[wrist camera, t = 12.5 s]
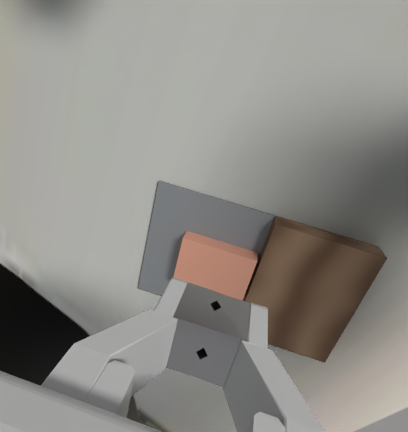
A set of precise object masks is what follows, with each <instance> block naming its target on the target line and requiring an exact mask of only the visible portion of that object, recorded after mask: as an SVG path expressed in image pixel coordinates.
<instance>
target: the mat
mask: <svg viewBox="0 0 408 432" xmlns="http://www.w3.org/2000/svg"><path fill="white" fill-rule="evenodd" d="M274 217H275V215H271V214H268V213H265V212H261V211H258V210H255V209H251V208H248V207H245V206H242V205H238V204H235V203H232V202H228V201H225V200H222V199H218V198H215V197H212V196H209V195H205V194H202V193H199V192H195V191H192V190H189V189H185V188H182V187H179V186H176V185H172V184H169V183H166V182H162V181H158V187H157V192H156V197H155V202H154V207H153V213H152V218H151V223H150V228H149V233H148V238H147V244H146V249H145V254H144V259H143V264H142V269H141V275H140V280H139V285H138V288H139V289H142V290H145V291H148V292H151V293H154V294H157V295H160V296H162V295H163V293H164V291H165V289H166V287H167V285H168V284H169V282H170V280H171V279H172V278H173V276H174V272H175V268H176V264H177V260H178V256H179V252H180V248H181V244H182V240H183V237H184V235H185V233H186V232H187V231H189V232H192V233H196V234H199V235H202V236H205V237H209V238H212V239H215V240H218V241H222V242H225V243H228V244H231V245H234V246H238V247H241V248H244V249H247V250H251V251H254V252H257V253H258V259H259V256H260V254H261V251H262V248H263V246H264V243H265V240H266V238H267V235H268V233H269V230H270V227H271V225H272V222H273V220H274ZM257 261H258V260H257ZM255 267H256V266H255Z"/></svg>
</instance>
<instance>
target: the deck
mask: <svg viewBox="0 0 408 432" xmlns="http://www.w3.org/2000/svg"><path fill="white" fill-rule="evenodd" d="M386 259H387V258H386V256H385V255H384V254H383V252H382V251H381V250H380V248H379V247H377V246H374V245H370V244H367V243H364V242H360V241H357V240H354V239H350V238H347V237H344V236H341V235H337V234H334V233H331V232H327V231H324V230H321V229H317V228H314V227H311V226H308V225H304V224H301V223H298V222H294V221H291V220H288V219H284V218H281V217H278V216H275V217H274V220H273V222H272V225H271V227H270V230H269V233H268V235H267V238H266V240H265V243H264V246H263V248H262V251H261V254H260V256H259V259H258V261H257V264H256V267H255V269H254V272H253V274H252V277H251V280H250V282H249V285H248V287H247V290H246V293H245V295H244V298H243V301H246V302H249V303H254V304H258V305H261V306H265V307H267V309H268V344H271V345H274V346H277V347H280V348H283V349H286V350H289V351H292V352H295V353H298V354H301V355H304V356H307V357H310V358H313V359H316V360H319V361H322V362H325V361H326V360H327V358H328V356H329V354H330V353H331V351H332V349H333V348H334V346H335V344H336V343H337V341H338V339H339V338H340V336H341V334H342V333H343V331H344V329H345V328H346V326H347V324H348V323H349V321H350V319H351V318H352V316H353V314H354V313H355V311H356V309H357V308H358V306H359V304H360V303H361V301H362V299H363V298H364V296H365V294H366V292H367V291H368V289H369V287H370V286H371V284H372V282H373V281H374V279H375V277H376V276H377V274H378V272H379V271H380V269H381V267H382V266H383V264H384V262H385V261H386Z"/></svg>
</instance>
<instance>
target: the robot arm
mask: <svg viewBox="0 0 408 432" xmlns="http://www.w3.org/2000/svg"><path fill="white" fill-rule="evenodd" d="M166 367H167V368H170V369H173V370H176V371H180V372H183V373H186V374H189V375H192V376H195V377H198V378H200V379H203V380H206V381H208V382H211V383H213V384H216V385H219V386H221V387H224V388H223V390H224V393H225V396H226V399H227V402H228V405H229V408H230V410H231V413H232V416H233V419H234V422H235V425H236V428H237V431H238V432H325V430H324V428H323V427H322V425H321V424H320V422H319V421H318V419H317V418H316V416H315V415H314V413H313V412H312V410H311V409H310V407H309V405H308V404H307V402H306V401H305V399H304V398H303V396H302V395H301V393H300V392H299V390H298V389H297V387H296V386H295V384H294V383H293V381H292V379H291V378H290V376H289V375H288V373H287V372H286V370H285V369H284V367H283V366H282V364H281V363H280V361H279V360H278V358H277V356H276V355H275V353H274V352H273V351H272V350H270V349H268V309H267V307H265V306H261V305H258V304H254V303H249V302H246V301H243V300H240V299H236V298H233V297H230V296H227V295H224V294H221V293H218V292H215V291H213V290H210V289H207V288H204V287H201V286H198V285H195V284H192V283H188V282H186V281H183V280H180V279H177V278H174V277H173V278H172V279H171V280H170V282H169V284H168V285H167V287H166V289H165V291H164V293H163V295H162V297H161V298H160V300H159V302H158V304H157V306H156V308H155V310H154V311H153V310H150V309H149V310H147V311H144V312H142V313H140V314H138V315H136V316H133V317H131V318H129V319H127V320H125V321H122V322H120V323H118V324H116V325H114V326H111V327H109V328H107V329H105V330H103V331H100V332H98V333H96V334H94V335H92V336H90V337H87V338H85V339H83V340H81V341H79V342H76V343H74V344H73V345H72V347H71V348H70V349H69V350H68V352H67V353H66V354H65V355H64V357H63V358H62V359H61V361H60V362H59V363H58V364H57V366H56V367H55V368H54V369H53V371H52V372H51V373H50V375H49V376H48V377H47V378H46V380H45V381H44V382H43V383H42V385H41V386H39V385H37V384H34V383H31V382H29V381H26V380H23V379H20V378H18V377H15V376H13V375H10V374H7V373H4V372H1V371H0V432H162V431H160V430H157V429H154V428H152V427H149V426H146V425H144V424H141V423H138V422H136V421H133V420H130V419H128V418H127V413H128V408H129V402H130V397H131V396H132V395H134V394H135V393H136V392H137V391H139V390H140V389H141V388H142V387H144V386H145V385H146V384H147V383H149V382H150V381H151V380H153V379H154V378H155V377H156V376H158V375H159V374H160V373H161V372H163V371H164V370H165V369H166Z"/></svg>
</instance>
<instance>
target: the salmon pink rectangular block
mask: <svg viewBox="0 0 408 432" xmlns="http://www.w3.org/2000/svg"><path fill="white" fill-rule="evenodd" d="M257 260H258V253H257V252H254V251H251V250H247V249H244V248H241V247H238V246H234V245H231V244H228V243H225V242H222V241H218V240H215V239H212V238H209V237H205V236H202V235H199V234H196V233H192V232H189V231H187V232H186V233H185V235H184V237H183V240H182V244H181V248H180V252H179V256H178V260H177V264H176V268H175V272H174V276H173V277H174V278H177V279H180V280H183V281H186V282H188V283H192V284H195V285H198V286H201V287H204V288H207V289H210V290H213V291H215V292H218V293H221V294H224V295H227V296H230V297H233V298H236V299H240V300H243V298H244V295H245V293H246V290H247V287H248V285H249V282H250V280H251V277H252V274H253V272H254V269H255V266H256V264H257Z"/></svg>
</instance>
